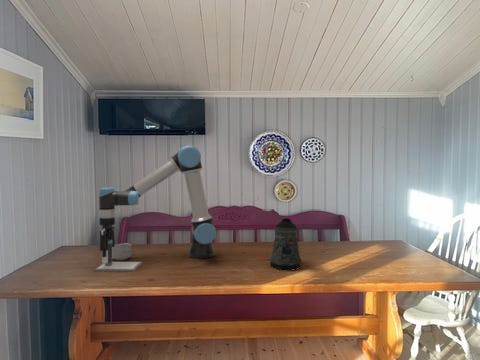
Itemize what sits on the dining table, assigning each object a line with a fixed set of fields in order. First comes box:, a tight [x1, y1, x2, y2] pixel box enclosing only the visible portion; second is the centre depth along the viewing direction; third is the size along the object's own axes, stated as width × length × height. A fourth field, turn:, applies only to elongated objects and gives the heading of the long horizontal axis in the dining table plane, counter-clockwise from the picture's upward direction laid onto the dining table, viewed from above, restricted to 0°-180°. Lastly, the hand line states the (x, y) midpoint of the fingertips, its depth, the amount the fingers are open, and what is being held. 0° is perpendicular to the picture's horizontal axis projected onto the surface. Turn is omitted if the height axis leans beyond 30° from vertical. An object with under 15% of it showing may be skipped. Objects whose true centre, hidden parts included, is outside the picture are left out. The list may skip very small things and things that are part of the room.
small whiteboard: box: [94, 261, 143, 272], centre depth 183 cm, size 20×14×1 cm
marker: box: [105, 240, 113, 266], centre depth 183 cm, size 4×4×13 cm
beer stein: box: [269, 218, 302, 271], centre depth 186 cm, size 16×19×25 cm
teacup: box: [113, 242, 132, 261], centre depth 200 cm, size 14×11×8 cm
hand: (107, 261), depth 183 cm, fingers open, 6 cm apart
